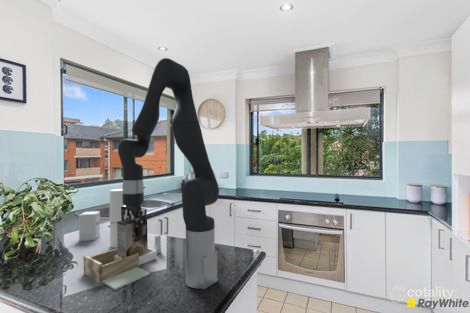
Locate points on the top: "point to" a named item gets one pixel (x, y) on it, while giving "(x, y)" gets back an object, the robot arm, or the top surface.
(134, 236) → the coffee box
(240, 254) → the top surface
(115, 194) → the cylindrical container
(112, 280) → the mat
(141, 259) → the white frame with handle
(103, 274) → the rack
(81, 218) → the supplement box
